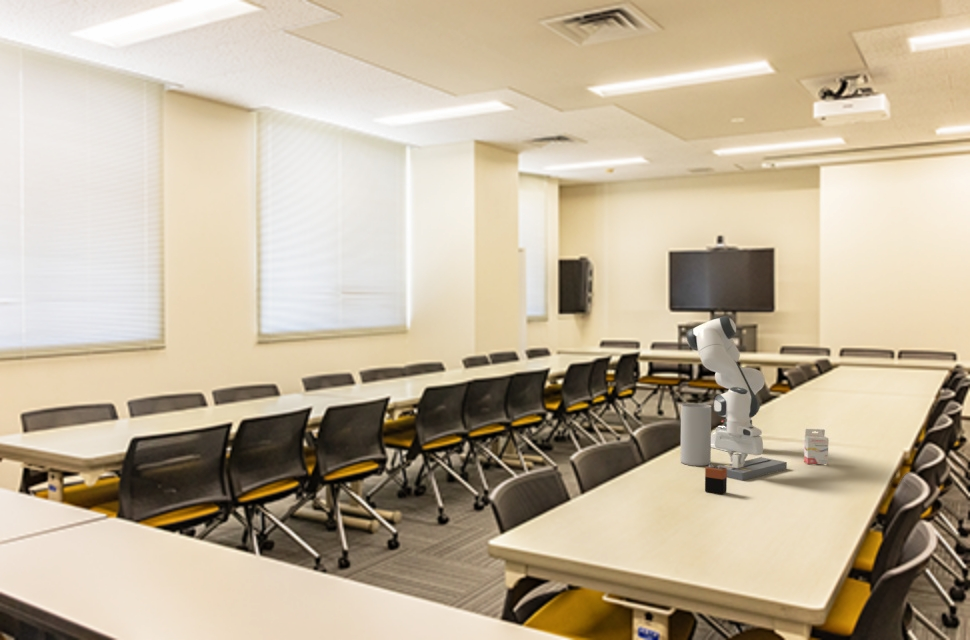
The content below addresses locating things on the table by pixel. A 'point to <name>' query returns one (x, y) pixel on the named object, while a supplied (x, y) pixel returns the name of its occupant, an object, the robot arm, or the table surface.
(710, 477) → the battery
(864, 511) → the table surface
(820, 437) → the ink cartridge box
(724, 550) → the table surface
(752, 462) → the console
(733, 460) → the fader
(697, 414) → the cylinder vase
